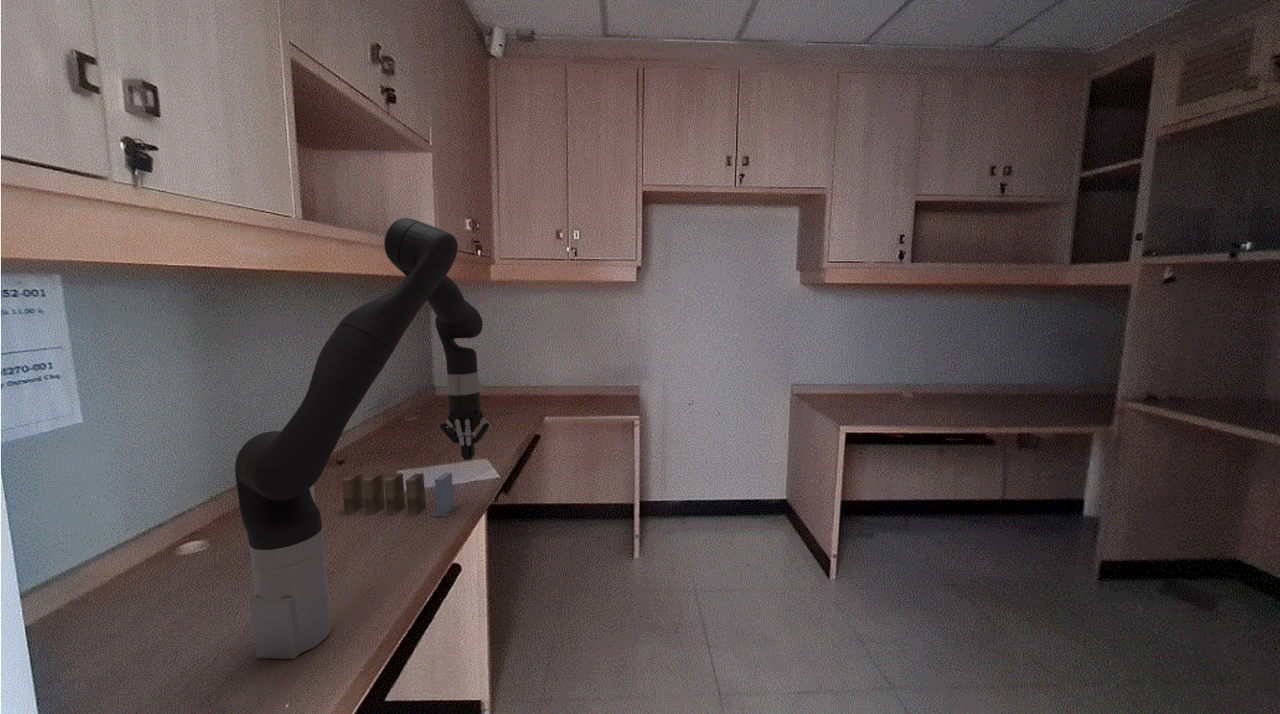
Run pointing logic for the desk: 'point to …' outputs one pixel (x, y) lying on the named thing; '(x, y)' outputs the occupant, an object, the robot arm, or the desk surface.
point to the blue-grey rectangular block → (444, 493)
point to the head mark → (446, 513)
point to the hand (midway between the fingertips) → (468, 459)
